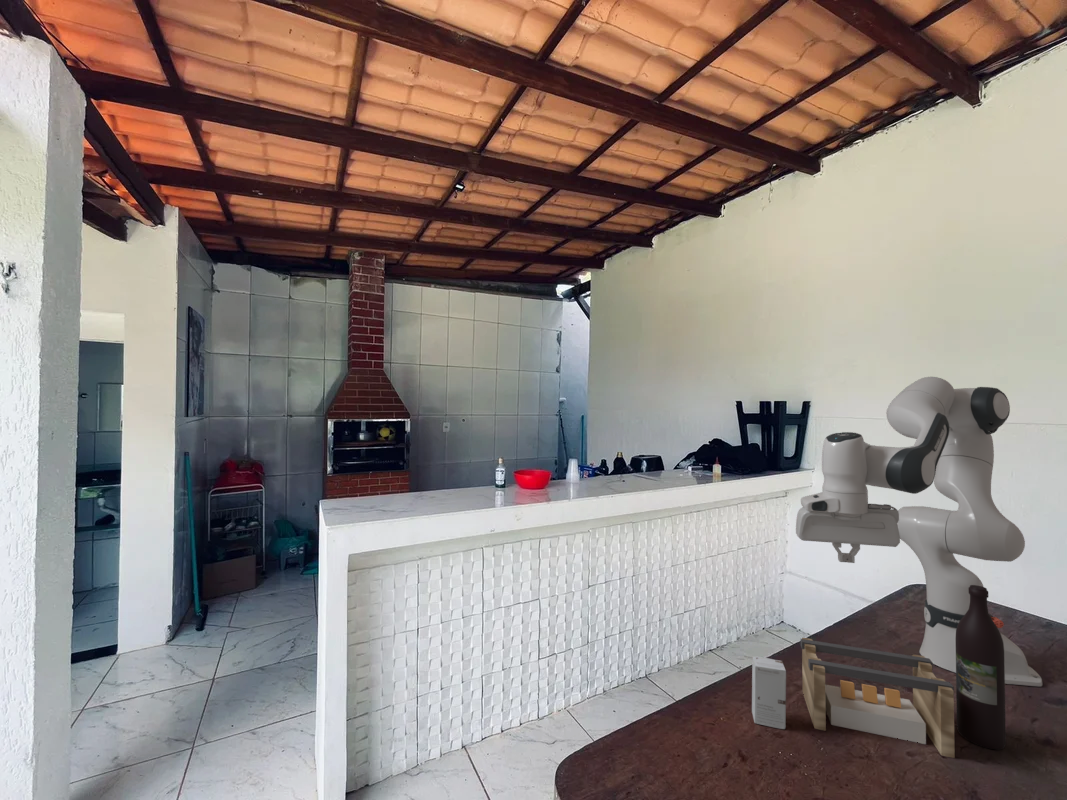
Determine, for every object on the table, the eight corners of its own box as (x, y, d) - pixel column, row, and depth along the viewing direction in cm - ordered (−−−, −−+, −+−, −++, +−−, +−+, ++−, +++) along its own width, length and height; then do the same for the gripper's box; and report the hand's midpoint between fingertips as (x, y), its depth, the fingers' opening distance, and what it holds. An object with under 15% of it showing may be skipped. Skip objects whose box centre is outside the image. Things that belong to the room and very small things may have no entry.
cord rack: (924, 715, 100) (923, 656, 100) (954, 758, 87) (953, 690, 88) (802, 692, 108) (802, 637, 108) (814, 728, 96) (813, 666, 96)
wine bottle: (947, 725, 96) (945, 580, 97) (982, 726, 96) (980, 580, 97) (978, 750, 89) (976, 594, 90) (1016, 751, 89) (1014, 594, 90)
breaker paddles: (899, 706, 96) (897, 690, 97) (901, 707, 95) (899, 691, 96) (840, 695, 100) (839, 679, 101) (842, 696, 99) (840, 681, 100)
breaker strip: (909, 718, 99) (909, 699, 99) (925, 744, 91) (925, 723, 91) (822, 701, 104) (822, 683, 104) (831, 724, 97) (831, 705, 97)
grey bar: (949, 690, 90) (949, 682, 90) (953, 695, 89) (953, 686, 89) (808, 666, 99) (808, 658, 99) (809, 670, 97) (809, 662, 97)
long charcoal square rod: (929, 666, 98) (929, 658, 98) (932, 670, 97) (932, 662, 97) (800, 645, 107) (800, 638, 107) (801, 649, 105) (801, 642, 105)
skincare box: (754, 724, 97) (753, 666, 97) (751, 710, 101) (750, 655, 101) (787, 730, 95) (786, 671, 95) (782, 716, 99) (782, 659, 99)
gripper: (893, 501, 108) (894, 561, 108) (793, 497, 115) (794, 553, 115) (904, 508, 102) (905, 571, 102) (798, 503, 109) (800, 562, 109)
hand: (846, 561), depth 108 cm, fingers closed
